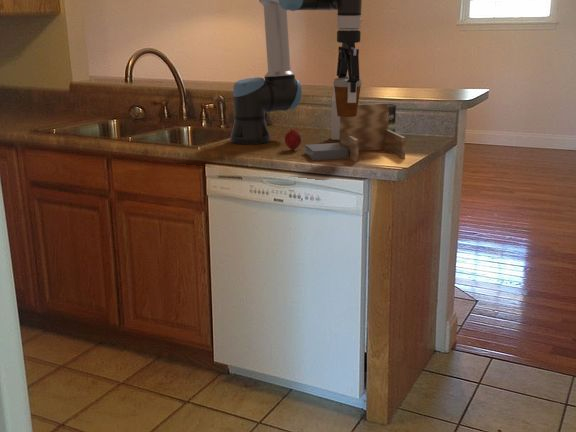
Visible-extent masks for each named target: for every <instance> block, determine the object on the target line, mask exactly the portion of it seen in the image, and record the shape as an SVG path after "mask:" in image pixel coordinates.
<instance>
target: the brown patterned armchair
mask: <svg viewBox="0 0 576 432" xmlns="http://www.w3.org/2000/svg"><path fill="white" fill-rule="evenodd" d="M389 104H390V103H389V102H383V103H360V104H359V103H358V108H357V114H356V116H355V117H340V140H339V143H340V144H341V145H343V146H344V147H346V148H348V149H349V158H348V159H350V158H351V159H350V160H352V161H353V160H354V161H353V162H359V152H360V151H376V150H378V151H379V150H385V151H386V152H389V153H390V154H392V155H394V156H396V157H397V158H400V159H403V160H405V159H406V139H407V137H405V136H404V135H401V134H400V133H397V132H396V131H395V132H393V131H391V130H388V117H389Z"/></svg>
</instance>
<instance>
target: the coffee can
mask: <svg viewBox="0 0 576 432" xmlns="http://www.w3.org/2000/svg"><path fill="white" fill-rule="evenodd" d="M396 109H397V105H396V104H394V103H389V117H388V130H391V131H393V132H395V133H396V119H397V118H396V117H397V116H396V115H397V112H396V111H397V110H396Z"/></svg>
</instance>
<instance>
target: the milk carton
mask: <svg viewBox="0 0 576 432" xmlns="http://www.w3.org/2000/svg"><path fill="white" fill-rule="evenodd" d="M331 140H332V141H333V140H336V141H337V140H338V141H340V117H339V116H337V107H336V97H335V88H332V95H331Z"/></svg>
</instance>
